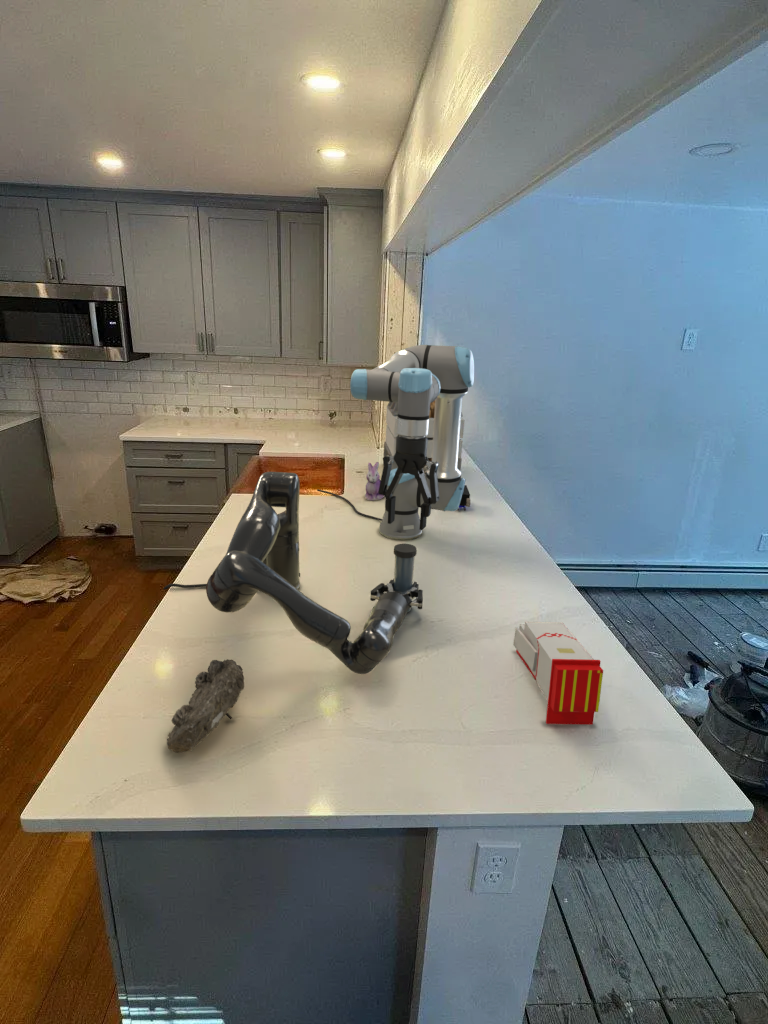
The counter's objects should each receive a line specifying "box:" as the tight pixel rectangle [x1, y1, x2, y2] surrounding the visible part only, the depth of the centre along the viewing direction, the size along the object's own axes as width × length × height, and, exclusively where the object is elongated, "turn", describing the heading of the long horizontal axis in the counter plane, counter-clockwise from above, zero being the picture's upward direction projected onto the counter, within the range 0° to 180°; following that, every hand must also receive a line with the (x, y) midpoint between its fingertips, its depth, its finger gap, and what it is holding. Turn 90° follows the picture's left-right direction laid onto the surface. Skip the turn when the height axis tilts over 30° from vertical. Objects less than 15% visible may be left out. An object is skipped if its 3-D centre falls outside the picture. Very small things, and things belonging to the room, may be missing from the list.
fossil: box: [166, 658, 245, 754], centre depth 106 cm, size 22×10×15 cm
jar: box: [393, 555, 416, 613], centre depth 147 cm, size 5×5×17 cm
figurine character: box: [456, 484, 471, 512], centre depth 229 cm, size 7×8×15 cm
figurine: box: [364, 461, 385, 501], centre depth 234 cm, size 9×10×15 cm
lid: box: [393, 543, 418, 558], centre depth 145 cm, size 6×6×2 cm
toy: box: [512, 621, 604, 726], centre depth 121 cm, size 12×13×30 cm
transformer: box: [383, 401, 465, 472], centre depth 268 cm, size 34×33×41 cm
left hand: (405, 583), depth 151 cm, fingers closed on jar, 5 cm apart
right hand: (406, 524), depth 142 cm, fingers open, 8 cm apart
